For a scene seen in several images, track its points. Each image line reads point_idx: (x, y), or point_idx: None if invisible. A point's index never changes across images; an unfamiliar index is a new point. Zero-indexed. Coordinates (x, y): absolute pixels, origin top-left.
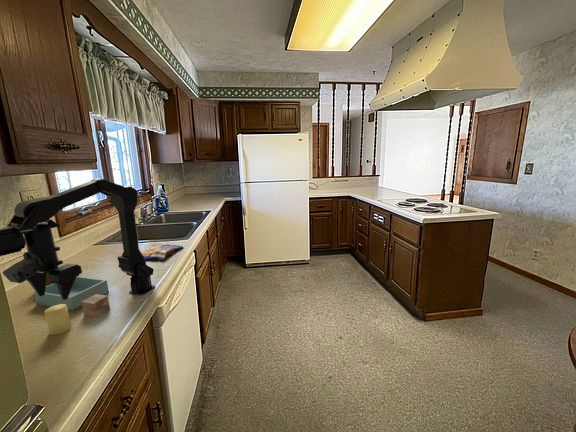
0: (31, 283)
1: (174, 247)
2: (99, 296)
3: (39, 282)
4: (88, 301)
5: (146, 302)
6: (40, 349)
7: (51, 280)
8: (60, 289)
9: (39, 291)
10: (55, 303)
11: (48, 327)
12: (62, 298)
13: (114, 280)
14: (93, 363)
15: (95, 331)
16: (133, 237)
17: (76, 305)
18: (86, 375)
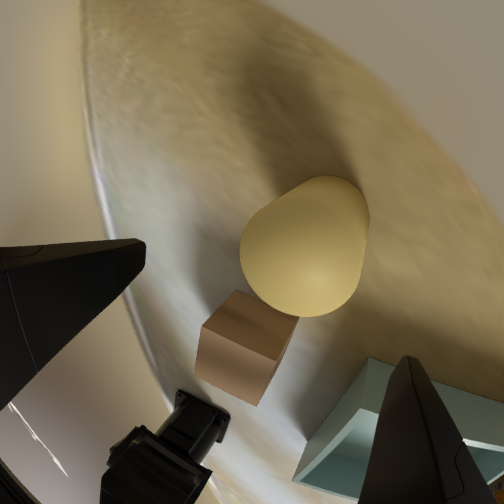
0: (459, 478)
1: None
2: (223, 381)
3: (392, 489)
4: (239, 352)
5: (141, 341)
6: (302, 77)
7: (498, 496)
8: (32, 250)
9: (405, 392)
10: (452, 403)
11: (347, 190)
12: (130, 242)
13: None
14: (93, 56)
15: (172, 191)
16: None
17: (358, 381)
18: (88, 25)
